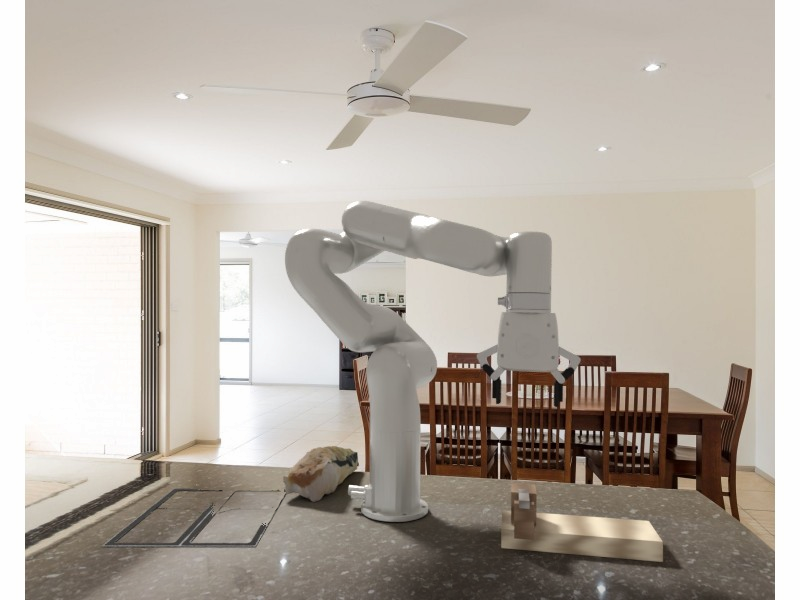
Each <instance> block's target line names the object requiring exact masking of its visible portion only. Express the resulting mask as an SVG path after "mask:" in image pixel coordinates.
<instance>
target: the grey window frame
mask: <svg viewBox="0 0 800 600" xmlns="http://www.w3.org/2000/svg"><path fill="white" fill-rule="evenodd" d="M198 489H200V490H201V489H202V488H182V487H181V488H178V487H177V488H172V489H171V490H170V491H169V492H168V493H166V494H165V495H164V496H162V497H161V498H160V499H159V500H158V501H156V502H155V503H154V504H153V505H151V506H150V507H149V508H147V510H145V511H144V512H142V513H141V514H140V515H139V516H137V517H136V518H135V519H134V520H132V522H130V523H129V524H127V525H126V526H125V527H124V528H122V529H121V530H120V531H119V532H117V533H116V534H115V535H114V536H113V537H111V538H110V539H109V540H107V541H106V542H105V543H104V544H103V545H101V547H102V548H257V546H258V544H259V542H260V541H259V540H261V539H262V537H263V535H264V534H263V533H265V532H266V530H267V528H268V527H269V525H267V526H268V527H267V526H266V525H264V524H263V523H262V522H261V524H263V525H264V526H263V525H261V524H260V526H259V527H258V529H257V531H256V532H255V534H254V535H253V536H252V539H251V540H250V541H249V542H193V541H194V540H195V539H196V537H197V536H198V535H199V534H200V533H201V531H203V529H204V528H205V527H206V526H207V525H208V524H209V522H210V521H211V520H212V519H213V518H214V517H213V516H212V514H213V513H212V511H213V510H214V509H213V507H212V506H213V504H212V503H211V504H212V505H210V506H209V507H206V508H205V510H203V511H204V512H203V513H202V514H201V513H200V515H199V516H198V517H197V519H195V520H194V522H193V523H191V525H190V526H189V527H188V528H187V529H186V530H185V531H184V532H183V533H182V534H181V535H180V536H179V537H178V538H177V539H176V541H174V542H118V541H119V540H120V539H121V538H123V537H124V536H125V535H127V533H129V532H130V531H131V530H132V529H134V528H135V527H136V526H137V525H139V523H141V522H142V521H143V520H145V519H146V518H147V517H148V516H149V515H151V514H152V513H153V512H154V511H156V510H168V509H167V508H168V507H160V506H161V505H163V504H164V503H165V502H166V501H168V500H169V499H170V498H171V497H173V495H175V494H176V493H177V491H178V492H198V491H197V490H198ZM189 490H190V491H189ZM191 490H193V491H191ZM194 490H196V491H194ZM175 492H176V493H175ZM174 493H175V494H174ZM168 498H169V499H168ZM162 503H163V504H162ZM214 506H215V505H214ZM211 507H212V508H211ZM156 508H157V509H156ZM165 508H166V509H165ZM212 509H213V510H212ZM151 512H152V513H151ZM213 512H214V511H213ZM211 513H212V514H211ZM145 517H146V518H145ZM212 517H213V518H212ZM211 518H212V519H211ZM210 519H211V520H210ZM209 520H210V521H209ZM206 524H207V525H206ZM265 524H266V523H265ZM205 525H206V526H205ZM266 527H267V528H266ZM265 529H266V530H265ZM264 531H265V532H264ZM199 532H200V533H199ZM260 538H261V539H260ZM256 545H257V546H256Z"/></svg>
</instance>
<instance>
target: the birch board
mask: <svg viewBox="0 0 800 600" xmlns="http://www.w3.org/2000/svg"><path fill="white" fill-rule="evenodd" d="M501 512H502V513H501V528H500V530H501V533H500V534H501V535H500V541H501V542H500V544H501V545H500V547H501V549H509V550H511V549H512V550H520V551H521V550H523V551H534V552H544V553H545V552H546V553H555V554H556V553H557V554H565V555H566V554H567V555H568V554H569V555H580V556H588V557H589V556H590V557H601V558H603V557H604V558H612V559H623V560H624V559H626V560H636V561H645V562H646V561H648V562H659V563H663V562H664V547H663V546H664V542H663V540H662V539H661V537H660V536H659V534H658V532H657V531H656V530H655V528H654V527H653V525H652V523H651V522H650V521H649V520H642V519H628V518H627V519H626V518H613V517H612V518H611V517H601V516H587V515H574V514H559V513H547V512H536V525H534V540H527V539H515V538H514V523H511V510H504V509H502V510H501Z"/></svg>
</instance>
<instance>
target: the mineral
mask: <svg viewBox="0 0 800 600" xmlns="http://www.w3.org/2000/svg"><path fill="white" fill-rule="evenodd" d="M358 455H359V454H358V451H357V452H356V451H354V450H352V449H351V448H344V447H340V446H336V445H334V446H333V445H331V446H330V445H328V446H323V447H321V446H318V447H316V448H312V449H311V450H310V451H309V450H308V451H307V452H306V453H305V454H304V456H302V457H301V458H300V459H299V460H298V461H297V462H296V463H295V464H294V465H293V466H292V467H290V469H289V470H288V472H287V474H286V475H284V476H283V477H282V478H283V479H282V481H283V484H284V486H285V487H284V488H283V489H284V492H286V495H289V494H293V493H294V494H299V495H300V496H302V497H303V498H306V499H309V500H310V501H311V502H312V503H313V502H319V501H320V500H322V498H323V496H324V495H330V494H331V493H334V492H335V491H336V489H337V487H338V485H341V484H342V483H343V482H344V481H345V479H346V478H347V477H348V476H350V475H352V473H354V472H355V471H356V470H358V467H359V466H360V464H359V456H358Z"/></svg>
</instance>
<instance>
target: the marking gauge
mask: <svg viewBox="0 0 800 600" xmlns="http://www.w3.org/2000/svg"><path fill="white" fill-rule="evenodd" d="M510 488H511V490H510V511H511V523H514V538H515V539H527V540H534V525H536V513H537V489H536V488H537V487H536V484H527V483H526V484H525V483H513V482H512V483H510Z"/></svg>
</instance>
